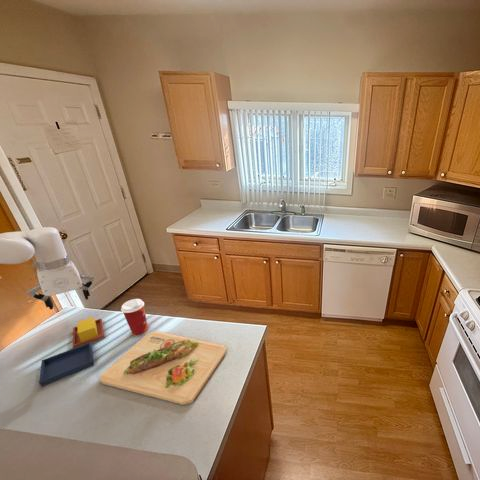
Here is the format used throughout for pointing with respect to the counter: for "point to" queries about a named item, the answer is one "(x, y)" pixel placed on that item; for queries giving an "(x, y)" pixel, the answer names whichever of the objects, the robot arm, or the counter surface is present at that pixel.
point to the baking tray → (66, 364)
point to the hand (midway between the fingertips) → (69, 302)
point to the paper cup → (135, 316)
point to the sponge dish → (101, 335)
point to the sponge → (87, 329)
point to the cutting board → (165, 367)
